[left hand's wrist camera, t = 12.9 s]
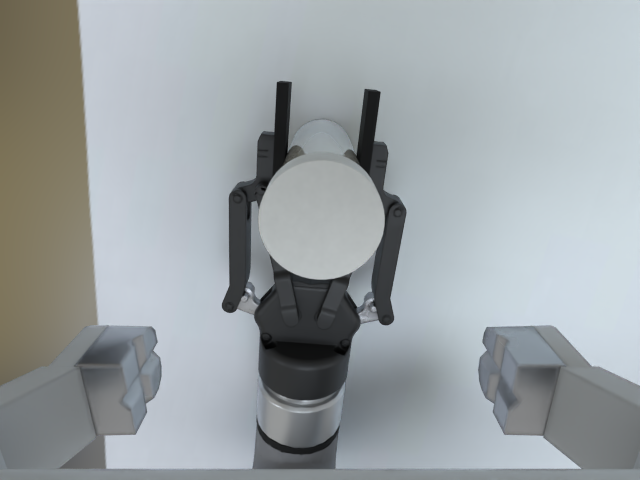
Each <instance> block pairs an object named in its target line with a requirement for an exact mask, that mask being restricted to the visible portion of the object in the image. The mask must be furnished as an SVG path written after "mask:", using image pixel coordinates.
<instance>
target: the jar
mask: <svg viewBox="0 0 640 480" xmlns="http://www.w3.org/2000/svg"><path fill="white" fill-rule="evenodd" d="M315 152H328V153H334V154H338V155H342V156H344V157H346V158H349V159H350V160H352V161H354V162H355V163H357V164H358V165H359V166H360V164H359V161H358V159H357V156H356V154H355V151H354V149H353V146H352V144H351V141H350V139H349V136H348V135H347V133H346V131H345V130H344V129H343V128H342V127H341V126H340V125H338V124H337V123H335V122H333V121H330V120H325V119H317V120H313V121H310V122H308V123H306V124H304V125H303V126H302V127H301V128H300V129H299V130H298V131H297V133H296V134H295V136H294V138H293V141H292V143H291V146H290V148H289V151H288V153H287V156H286V158H285V161H284V163H283V165H282V166H284V165H285V164H286V163H288V162H289V161H291V160H293V159H294V158H297V157H299V156H301V155H305V154H308V153H315Z"/></svg>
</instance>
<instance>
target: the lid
mask: <svg viewBox="0 0 640 480" xmlns="http://www.w3.org/2000/svg"><path fill="white" fill-rule="evenodd" d="M258 225H259V232H260V236H261V239H262V241H263V244H264V246H265V248H266V249H267V251H268V252H269V254H270V255H271V256H272V258H273V259H274V260H275V261H276V262H277V263H278V264H280V265H281V266H282V267H283V268H285V269H286V270H288V271H290V272H292V273H294V274H296V275H299V276H301V277H305V278H309V279H317V280H326V279H334V278H338V277H342V276H344V275H347V274H349V273H351V272H353V271H355V270H357V269H358V268H359V267H361V266H362V265H363V264H365V263H366V262H367V261H368V260H369V259H370V257H371V256H372V255H373V254H374V252H375V251H376V249H377V248H378V246H379V243H380V241H381V238H382V235H383V231H384V225H385V215H384V208H383V204H382V201H381V198H380V196H379V193H378V191H377V189H376V187H375V185H374V183H373V181H372V179H371V178H370V176H369V175H368V174H367V172H366V171H365V170H364V169H363V168H362V167H361V166H359V165H358V164H357V163H355V162H354V161H352V160H350V159H349V158H346V157H344V156H342V155H338V154H334V153H328V152H315V153H308V154H305V155H301V156H299V157H297V158H294V159H293V160H291V161H289V162H288V163H286V164H285V165H284V166H282V167H281V168H280V169H279V170H278V171H277V172H276V174H275V175H274V176H273V178H272V179H271V181H270V183H269V185H268V187H267V189H266V191H265V193H264V196H263V198H262V201H261V204H260V208H259V214H258Z"/></svg>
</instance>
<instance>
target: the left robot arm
mask: <svg viewBox="0 0 640 480" xmlns="http://www.w3.org/2000/svg"><path fill="white" fill-rule="evenodd" d="M156 344H157V337H156V332H155V330H154V329H153V327H152V326H108V325H99V326H87V327H85V328H84V329H83V330H82V331H81V332H80V333H79V334H78V335H77V336H76V337H75V338H74V339H73V340H72V341H71V343H70V344H69V345H68V346H67V347H66V348H65V349H64V350H63V351H62V352H61V353H60V354H59V355H58V357H57V358H56V359H55V360H54V361H53V362H52V363H51V364H50V365H49V366H48V367H39V368H37V369H35V370H33V371H31V372H29V373H27V374H25V375H22V376H20V377H18V378H16V379H14V380H12V381H10V382H8V383H6V384H3V385H1V386H0V480H640V386H639V385H637V384H634V383H632V382H630V381H628V380H626V379H624V378H622V377H620V376H618V375H615V374H613V373H611V372H609V371H607V370H605V369H603V368H601V367H592V366H591V365H590V364H589V363H588V362H587V361H586V360H585V359H584V358H583V356H582V355H581V354H580V353H579V352H578V351H577V350H576V349H575V348H574V347H573V346H572V345H571V344H570V342H569V341H568V340H567V339H566V338H565V337H564V336H563V335H562V334H561V333H560V332H559V331H558V330H557V328H556V327H553V326H551V325H542V326H514V327H487V328H486V330H485V332H484V336H483V344H484V346H485V347H486V349H487V351H486V352H485V353H484V354H483V355H482V356H481V357H480V361H479V369H478V371H479V382H480V385H481V389H482V391H483V393H484V395H485V397H486V398H487V399H488V400H490V401H491V402H493V403H494V409H493V413H494V415H495V417H496V419H497V421H498V423H499V425H500V427H501V429H502V431H503V433H504V434H505V435H539V436H544V438H545V439H546V440H547V441H548V442H550V443H551V444H552V445H553V446H555V447H556V448H557V449H558V450H560V451H561V452H562V453H563V454H564V455H566V456H567V457H568V458H569V459H571V460H572V461H573V462H574V463H575V464H577V465H578V466H579V467H580V468H582V469H59V468H60V467H61V466H62V465H63V464H65V463H66V462H67V461H68V460H70V459H71V458H72V457H73V456H75V455H76V454H77V453H78V452H79V451H81V450H82V449H83V448H84V447H86V446H87V445H88V444H89V443H90V442H92V441H93V440H94V439H95V438H96V436H101V435H136V433H137V431H138V429H139V427H140V425H141V423H142V421H143V419H144V417H145V415H146V413H147V409H146V403H147V402H149V401H150V400H152V399H153V398H154V397H155V395H156V393H157V391H158V389H159V385H160V380H161V361H160V357H159V356H158V355H157V354H156V353H155V352H154V351H153V349H154V347H155V346H156Z"/></svg>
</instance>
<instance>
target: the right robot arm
mask: <svg viewBox="0 0 640 480" xmlns="http://www.w3.org/2000/svg"><path fill="white" fill-rule="evenodd" d="M291 85H292V82H286V81H279V82H277V92H276V113H275V132H266V131H263V132H262V134H261V135H260V137H259V140H258V151H257V176H256V178H255V179H254V180H251V181H247V182H239V183H238V184H237V185H236V186H235V188H234V189H233V190H232V192H231V193H230V195H229V274H230V286H229V288H228V291H227V293H226V295H225V298H224V300H223V303H222V308H223V310H224V311H226V312H228V313H233V312H235V311H236V310H237V309H239V310H242V311H245V312H247V313H250V314H253V315H254V318H255V321H256V323H257V325H258V327H259V329H260V346H259V377H258V390H257V429H256V441H255V454H254V462H253V469H335V463H336V450H337V440H338V431H339V426H340V421H341V415H342V408H343V400H344V393H345V380H346V377H347V371H348V363H349V356H350V349H351V341H352V338H353V336H354V334H355V333H356V331H357V330H358V329H359V327H360V324H362V323H366V322H371V321H376V320H379V322H380V323H381V324H382V325H389V324H391V323H392V322H393V321H394V315H393V310H392V305H391V301H390V296H391V291H392V286H393V281H394V275H395V270H396V265H397V260H398V254H399V249H400V244H401V238H402V233H403V228H404V223H405V217H406V209H405V207H404V205H403V203H402V202H401V200H400V198H399V197H398V196H396V195H391V194H389V193H387V192H385V191H384V190H383V186H384V179H385V172H386V165H387V158H388V150H387V146H386V144H385V143H384V142H376V141H374V137H375V130H376V122H377V115H378V107H379V100H380V92H379V91H377V90H371V89H365V91H364V99H363V107H362V116H361V124H360V132H359V140H358V149H357V159H358V161H359V164H360V166H361V167H362V168H363V169H364V170H365V171H366V172H367V174H368V175H369V176H370V178H371V179H372V181H373V183H374V185H375V187H376V189H377V191H378V193H379V196H380V198H381V201H382V204H383V208H384V215H385V225H384V231H383V235H382V238H381V241H380V243H379V246H378V248H377V250H376V256H375V262H374V268H373V274H372V282H371V284H372V292H368V293H367V295H366V296H365V297H364V303H363V304H362V306H360V307H358V308H357V306H356V305H355V303H354V302H353V300H352V299H351V297H350V295H349V294H348V292H347V291H346V290H347V287H348V284H349V279H350V276H351V274H352V272H351V273H349V274H347V275H344V276H342V277H338V278H334V279H326V280H317V279H309V278H305V277H301V276H299V275H296V274H294V273H292V272H290V271H288V270H286V269H285V268H283V267H282V266H281V265H280V264H278V263H277V262H276V261H275V260H274V259H273V258H272V256H271V255H270V258H271V263H272V267H273V272H274V281H275V284H274V285H273V286H272V287H271V288H270V289H269V291H268V292H267V293H266V294H265V295H264V296H263V297H262V298H261V299H258V298H257V297H256V296H255V287H254V286H253V285H252V283H251V282H248V279H249V275H250V266H251V202H253V201H256V200H257V203H258V207H259V208H260V204H261V201H262V198H263V196H264V193H265V191H266V189H267V187H268V185H269V183H270V181H271V179H272V178H273V176H274V175H275V174H276V172H277V171H278V170H279V169H280V168H281V167H282V165H283V163H284V161H285V158H286V156H287V152H288V135H289V118H290V102H291Z"/></svg>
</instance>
